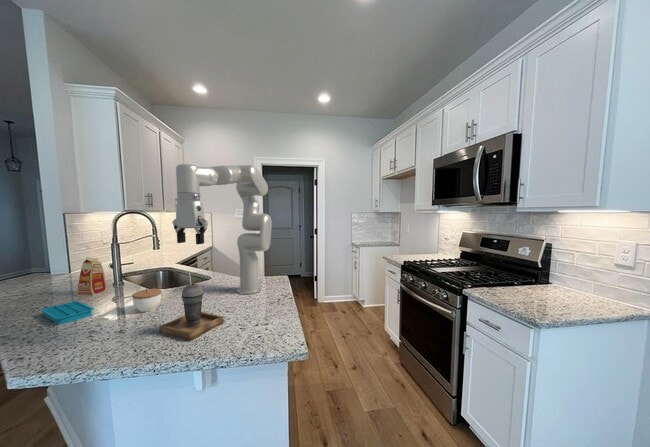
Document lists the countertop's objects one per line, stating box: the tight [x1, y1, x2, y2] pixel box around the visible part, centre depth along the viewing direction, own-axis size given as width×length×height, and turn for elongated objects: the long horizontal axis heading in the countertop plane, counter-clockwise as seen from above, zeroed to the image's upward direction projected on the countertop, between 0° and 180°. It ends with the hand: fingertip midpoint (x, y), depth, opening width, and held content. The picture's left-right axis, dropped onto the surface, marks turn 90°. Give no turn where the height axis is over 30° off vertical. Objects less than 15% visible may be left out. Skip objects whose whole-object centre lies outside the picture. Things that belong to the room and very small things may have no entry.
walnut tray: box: [159, 311, 225, 342], centre depth 95 cm, size 15×15×2 cm
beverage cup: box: [181, 271, 204, 327], centre depth 95 cm, size 7×7×20 cm
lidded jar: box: [131, 287, 163, 313], centre depth 112 cm, size 11×11×9 cm
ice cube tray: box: [40, 300, 95, 325], centre depth 107 cm, size 12×20×3 cm, turn 60°
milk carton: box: [76, 256, 108, 297], centre depth 134 cm, size 9×9×20 cm
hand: (190, 243), depth 96 cm, fingers open, 9 cm apart
